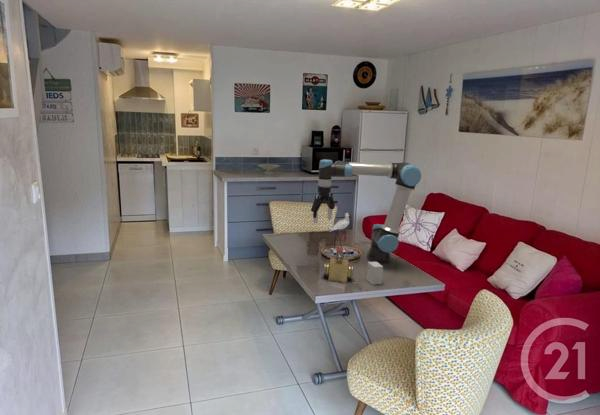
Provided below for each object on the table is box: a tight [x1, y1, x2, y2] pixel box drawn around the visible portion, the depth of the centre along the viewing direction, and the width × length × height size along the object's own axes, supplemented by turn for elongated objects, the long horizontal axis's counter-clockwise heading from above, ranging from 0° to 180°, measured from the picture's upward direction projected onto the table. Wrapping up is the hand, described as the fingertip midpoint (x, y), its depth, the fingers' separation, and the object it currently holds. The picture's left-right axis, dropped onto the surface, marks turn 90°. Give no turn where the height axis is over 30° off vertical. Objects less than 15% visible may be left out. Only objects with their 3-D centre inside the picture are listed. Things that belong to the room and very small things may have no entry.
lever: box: [335, 246, 345, 260], centre depth 235 cm, size 17×4×3 cm, turn 174°
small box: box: [365, 261, 384, 286], centre depth 229 cm, size 8×6×10 cm
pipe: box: [323, 262, 354, 280], centre depth 231 cm, size 16×8×8 cm, turn 84°
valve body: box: [325, 257, 352, 283], centre depth 231 cm, size 14×9×11 cm, turn 84°
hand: (322, 221), depth 248 cm, fingers open, 13 cm apart
